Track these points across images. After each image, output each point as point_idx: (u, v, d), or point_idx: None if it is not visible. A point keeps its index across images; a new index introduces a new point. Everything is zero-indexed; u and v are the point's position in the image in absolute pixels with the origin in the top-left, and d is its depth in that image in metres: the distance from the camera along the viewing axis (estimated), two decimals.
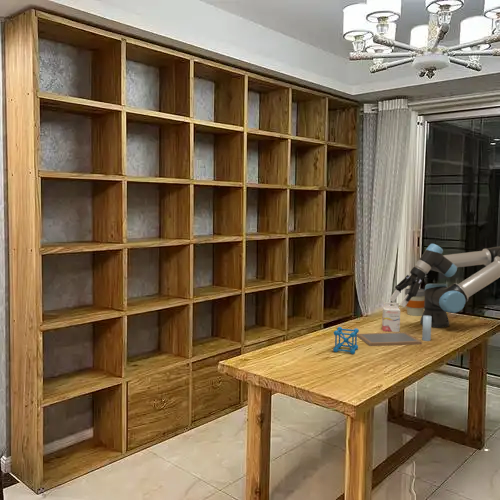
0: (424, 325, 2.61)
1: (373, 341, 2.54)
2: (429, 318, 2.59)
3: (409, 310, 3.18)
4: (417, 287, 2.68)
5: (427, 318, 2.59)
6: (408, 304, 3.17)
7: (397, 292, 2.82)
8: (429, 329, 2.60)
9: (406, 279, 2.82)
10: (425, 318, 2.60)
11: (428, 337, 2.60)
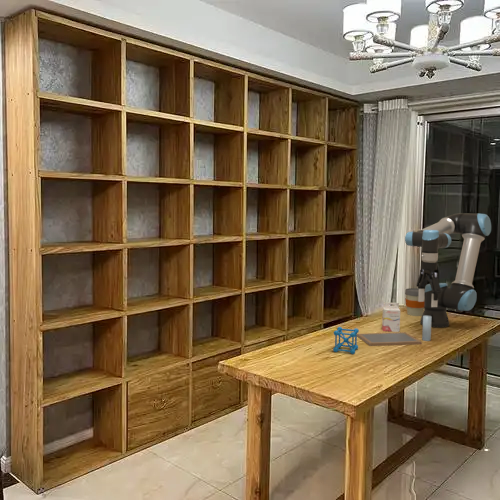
0: (424, 325, 2.61)
1: (373, 341, 2.54)
2: (429, 318, 2.59)
3: (409, 310, 3.18)
4: (437, 282, 2.52)
5: (427, 318, 2.59)
6: (408, 304, 3.17)
7: (421, 290, 2.66)
8: (429, 329, 2.60)
9: (422, 274, 2.65)
10: (425, 318, 2.60)
11: (428, 337, 2.60)
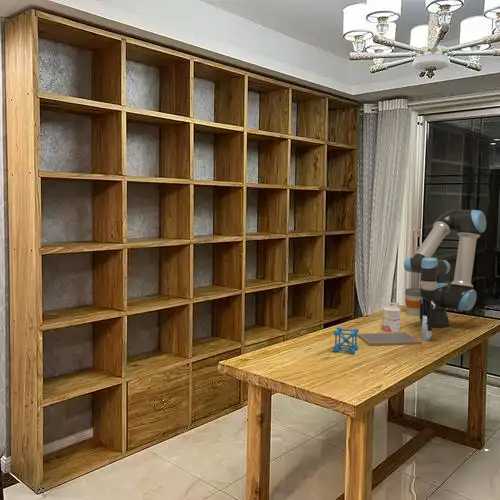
0: (424, 325, 2.61)
1: (373, 341, 2.54)
2: None
3: (409, 310, 3.18)
4: (433, 314, 2.55)
5: None
6: (408, 304, 3.17)
7: None
8: None
9: (422, 304, 2.65)
10: (425, 318, 2.60)
11: (428, 337, 2.61)
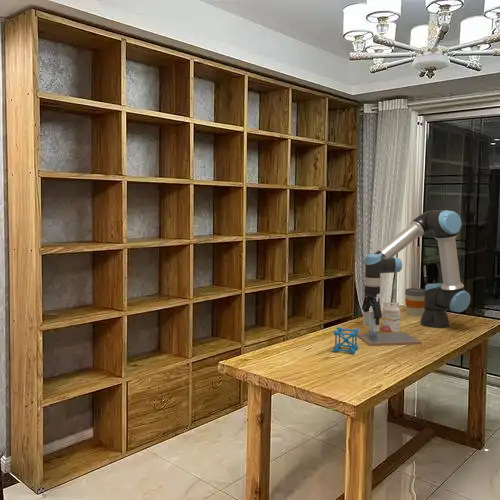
0: (370, 322, 2.61)
1: (373, 341, 2.54)
2: None
3: (409, 310, 3.18)
4: (378, 307, 2.54)
5: (373, 315, 2.60)
6: (408, 304, 3.17)
7: (366, 314, 2.69)
8: None
9: (366, 298, 2.67)
10: (371, 315, 2.61)
11: (374, 334, 2.61)
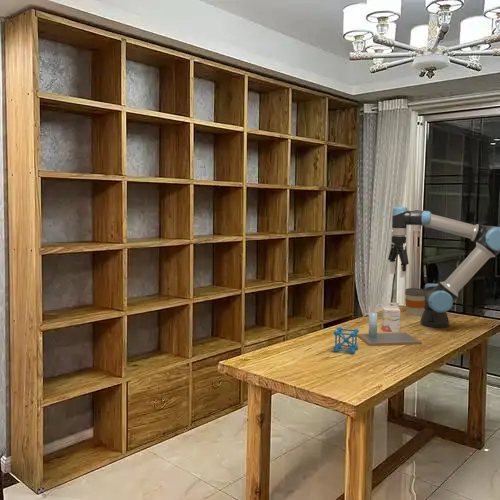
0: (370, 322, 2.61)
1: (373, 341, 2.54)
2: (375, 315, 2.60)
3: (409, 310, 3.18)
4: (405, 254, 2.74)
5: (373, 315, 2.60)
6: (408, 304, 3.17)
7: (392, 263, 2.89)
8: (375, 326, 2.61)
9: (393, 248, 2.88)
10: (371, 315, 2.61)
11: (374, 334, 2.61)
